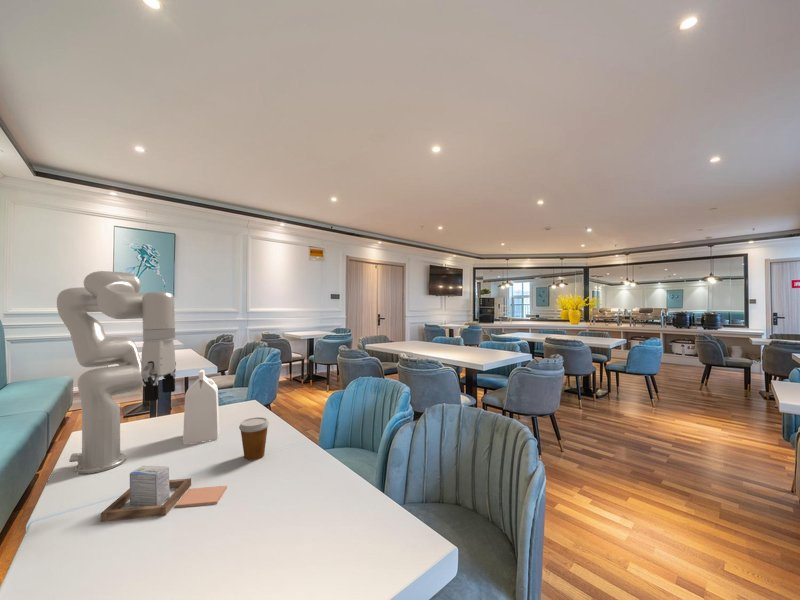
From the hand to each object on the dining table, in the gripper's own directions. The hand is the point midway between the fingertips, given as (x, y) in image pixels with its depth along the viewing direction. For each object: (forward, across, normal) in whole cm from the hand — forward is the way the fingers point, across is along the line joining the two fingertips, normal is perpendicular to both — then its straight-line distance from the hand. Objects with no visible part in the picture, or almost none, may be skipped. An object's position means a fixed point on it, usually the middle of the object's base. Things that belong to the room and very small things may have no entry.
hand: (160, 395), depth 99 cm
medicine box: (+27, +6, -1) cm, 27 cm away
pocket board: (+27, +6, -1) cm, 27 cm away
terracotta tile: (+27, +6, +12) cm, 30 cm away
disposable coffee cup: (+27, -18, +20) cm, 38 cm away
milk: (+26, -41, -4) cm, 48 cm away
